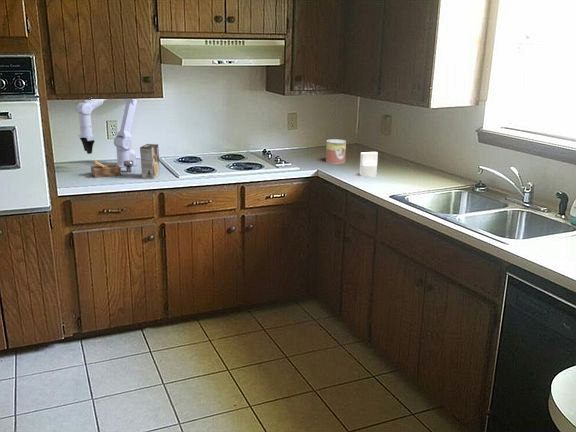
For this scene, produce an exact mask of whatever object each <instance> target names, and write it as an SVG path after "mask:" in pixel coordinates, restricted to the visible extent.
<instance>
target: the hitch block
mask: <svg viewBox="0 0 576 432" xmlns="http://www.w3.org/2000/svg"><path fill="white" fill-rule="evenodd" d="M103 165H104V167H102V166H100V165H98V164H96V165H91V166H90V172H91V173H90V174H91V175H92V176H93V177H94V178H95V179H97V178H107V177H109V178H110V177H116V176H122V168H121V167H119V166H118V165H117V164H116V163H111V164H110V163H109V164H103Z"/></svg>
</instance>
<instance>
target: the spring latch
mask: <svg viewBox="0 0 576 432" xmlns="http://www.w3.org/2000/svg"><path fill="white" fill-rule="evenodd" d="M93 163H94V164H96V165H100V166H102V167H104V165H105V164H103V163H101V162H99V161H97V160H95V159H93Z"/></svg>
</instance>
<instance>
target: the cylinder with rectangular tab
mask: <svg viewBox="0 0 576 432" xmlns="http://www.w3.org/2000/svg"><path fill="white" fill-rule="evenodd" d="M378 156H379V153H378V151H367V152H366V151H365V152H360V160H359V176H360V177H364V178H375V177H377V176H378V175H377V174H378V159H379V158H378Z"/></svg>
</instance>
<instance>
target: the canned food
mask: <svg viewBox="0 0 576 432" xmlns="http://www.w3.org/2000/svg"><path fill="white" fill-rule="evenodd" d="M346 145H347V141H346V140H345V139H337V138H335V139H333V138H332V139H326V147H325V150H326V151H325V162H326V163H328V164H334V165H335V164H336V165H337V164H338V165H339V164H344V163H346V151H347V150H346V149H347V146H346Z"/></svg>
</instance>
